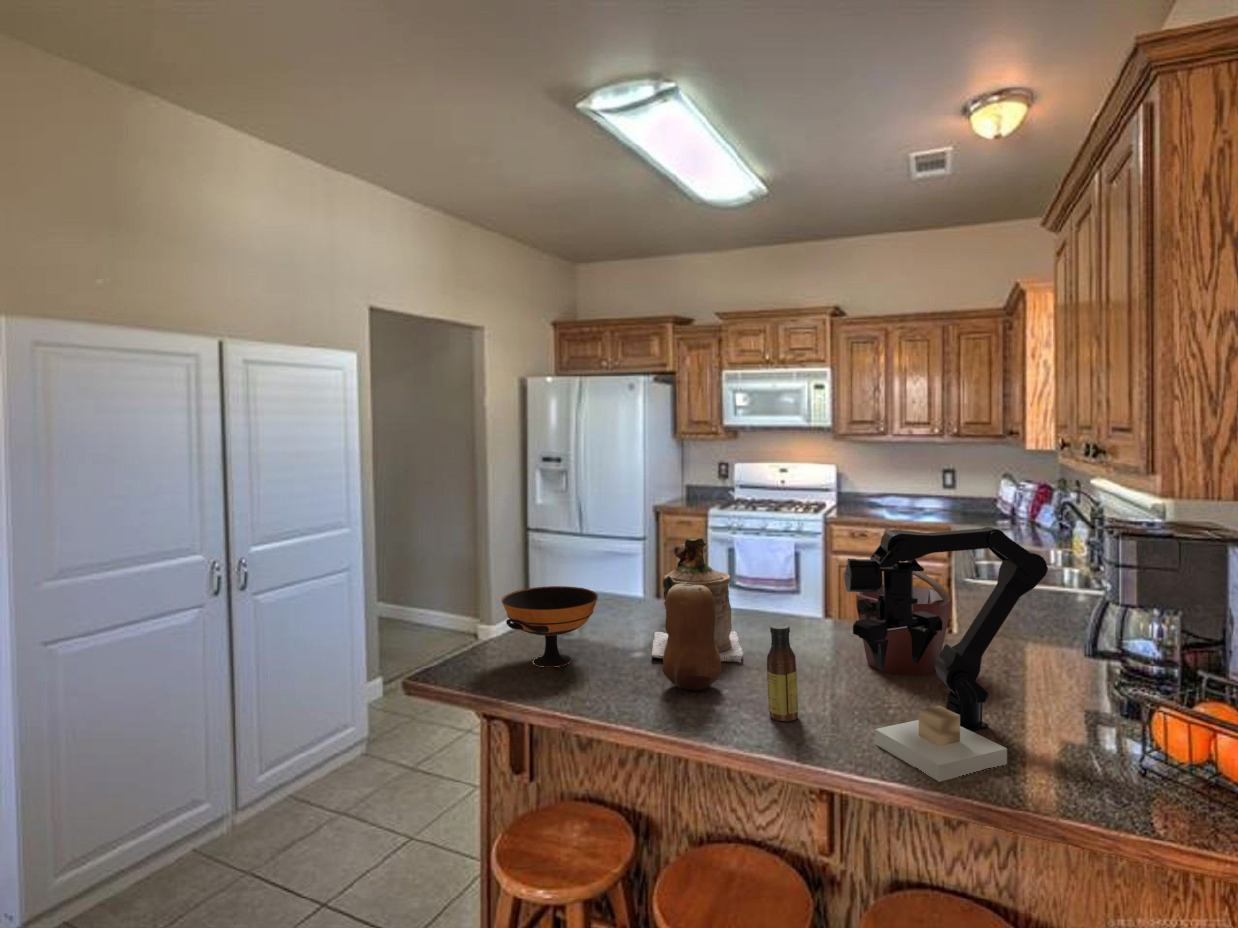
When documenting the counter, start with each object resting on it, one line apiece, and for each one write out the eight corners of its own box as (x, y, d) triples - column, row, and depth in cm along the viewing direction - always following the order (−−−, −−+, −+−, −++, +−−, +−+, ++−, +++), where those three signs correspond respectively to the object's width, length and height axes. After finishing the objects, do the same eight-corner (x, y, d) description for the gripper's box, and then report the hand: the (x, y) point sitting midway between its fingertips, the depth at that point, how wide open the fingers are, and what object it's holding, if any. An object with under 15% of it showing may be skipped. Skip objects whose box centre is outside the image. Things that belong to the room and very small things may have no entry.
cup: (560, 692, 169) (558, 618, 168) (471, 678, 180) (469, 609, 179) (622, 647, 202) (621, 586, 201) (544, 638, 212) (543, 579, 211)
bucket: (835, 657, 190) (835, 564, 189) (894, 644, 200) (894, 556, 199) (910, 686, 168) (911, 582, 167) (972, 670, 178) (973, 571, 177)
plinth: (938, 729, 145) (938, 715, 145) (1006, 764, 130) (1007, 748, 130) (875, 743, 139) (875, 728, 139) (939, 781, 124) (939, 764, 124)
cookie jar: (738, 636, 211) (737, 529, 209) (744, 664, 186) (743, 543, 185) (654, 635, 213) (652, 529, 211) (650, 663, 189) (648, 543, 187)
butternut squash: (704, 674, 179) (703, 576, 178) (731, 692, 167) (730, 587, 165) (653, 682, 174) (652, 581, 173) (677, 702, 162) (676, 593, 160)
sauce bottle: (793, 710, 156) (793, 620, 155) (802, 722, 149) (801, 629, 148) (764, 711, 156) (763, 621, 154) (771, 723, 149) (770, 630, 148)
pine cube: (939, 730, 137) (939, 705, 137) (959, 741, 133) (960, 715, 132) (918, 735, 136) (918, 709, 135) (939, 746, 131) (939, 719, 131)
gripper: (905, 579, 158) (904, 649, 159) (835, 588, 151) (835, 660, 152) (944, 590, 147) (944, 664, 148) (871, 599, 141) (871, 677, 142)
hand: (897, 666), depth 148 cm, fingers open, 9 cm apart
